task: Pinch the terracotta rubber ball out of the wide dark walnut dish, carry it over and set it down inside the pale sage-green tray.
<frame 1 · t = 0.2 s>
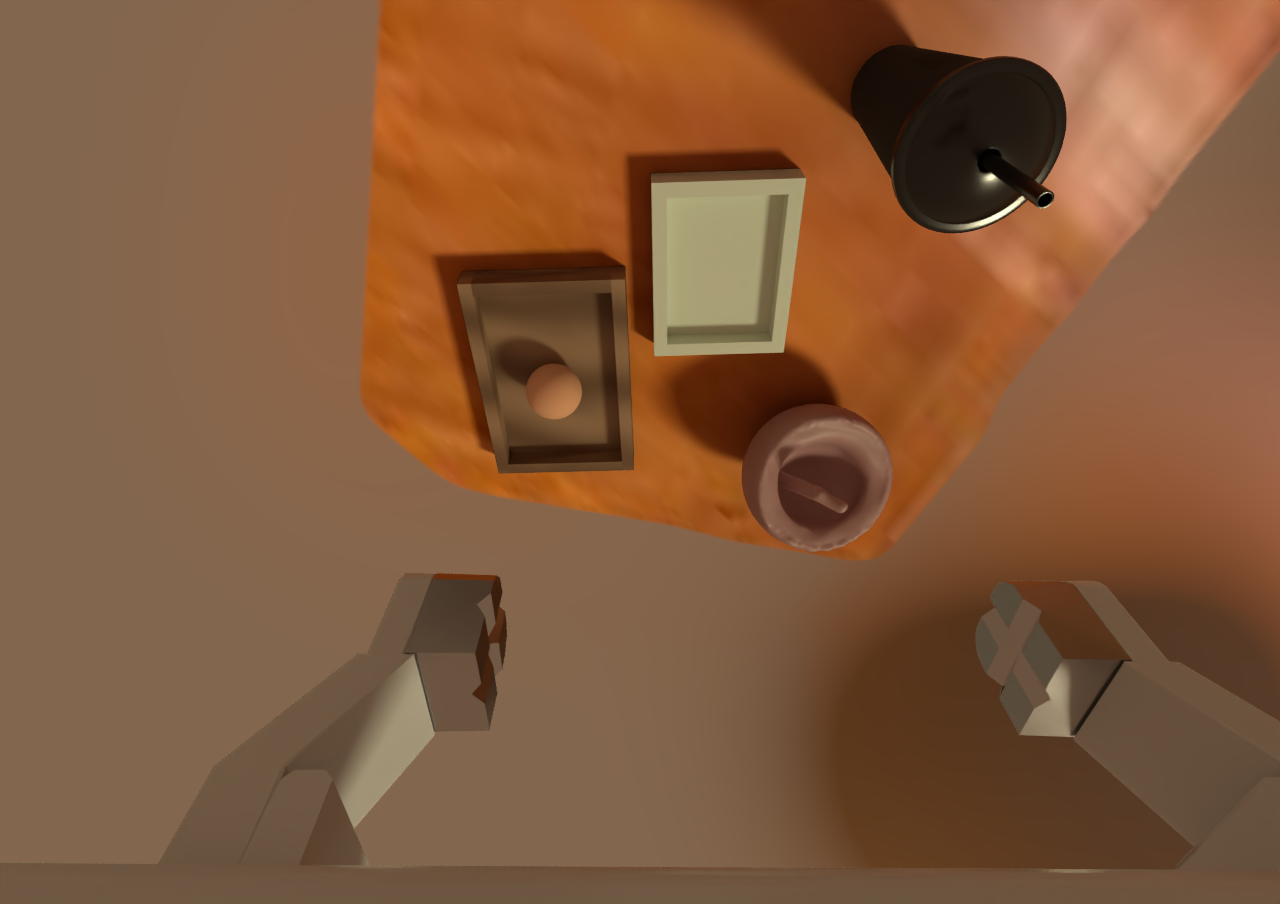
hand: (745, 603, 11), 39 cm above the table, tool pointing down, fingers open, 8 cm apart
mortar and pestle: (800, 430, 58), on the table
ball: (554, 391, 52), point 3 cm above the table, touching dish
drinking cup: (888, 89, 41), on the table
tray: (720, 263, 48), on the table
dish: (557, 372, 54), on the table
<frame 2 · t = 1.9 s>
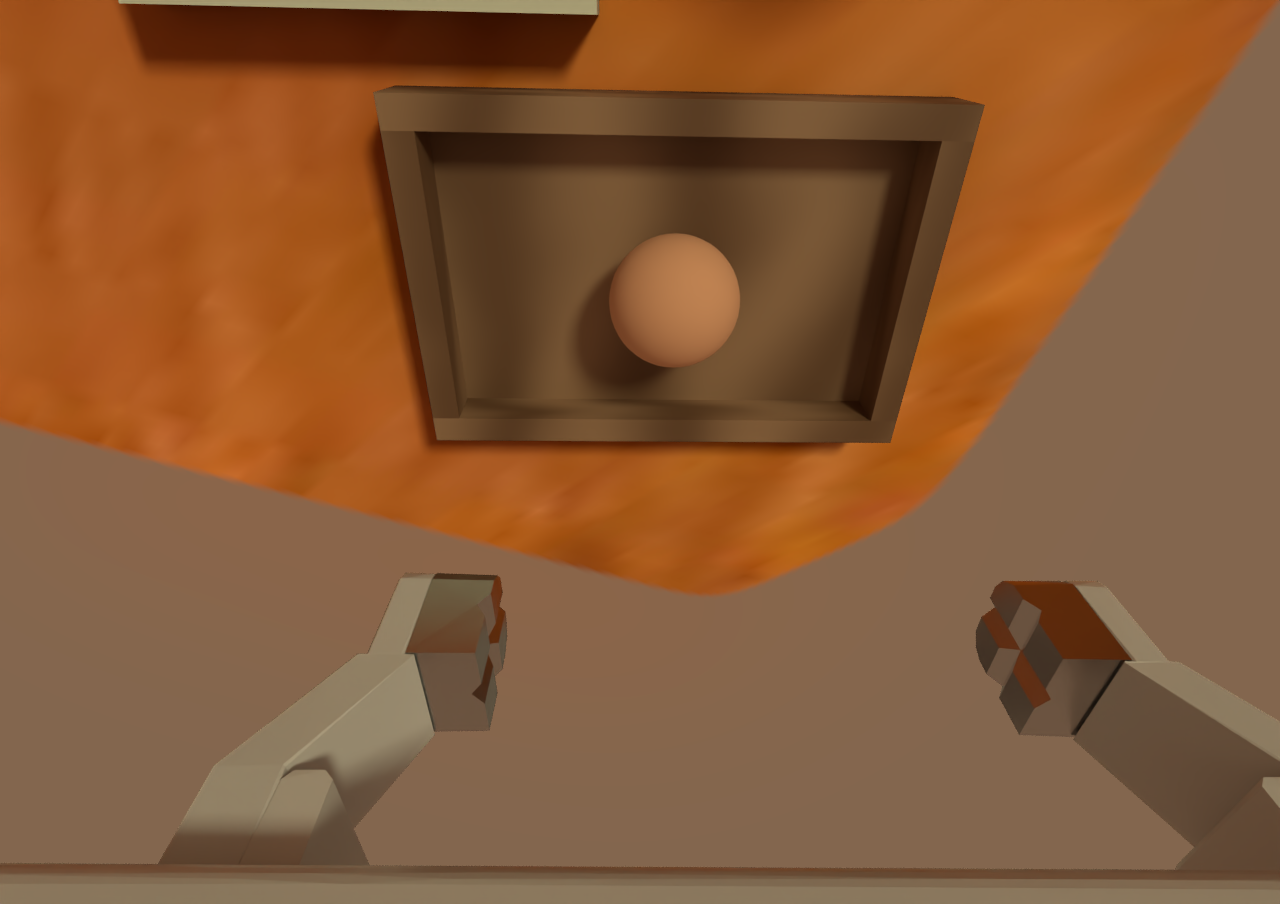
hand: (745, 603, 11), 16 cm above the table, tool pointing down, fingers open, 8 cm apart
ball: (674, 301, 22), point 3 cm above the table, touching dish
dish: (669, 274, 24), on the table
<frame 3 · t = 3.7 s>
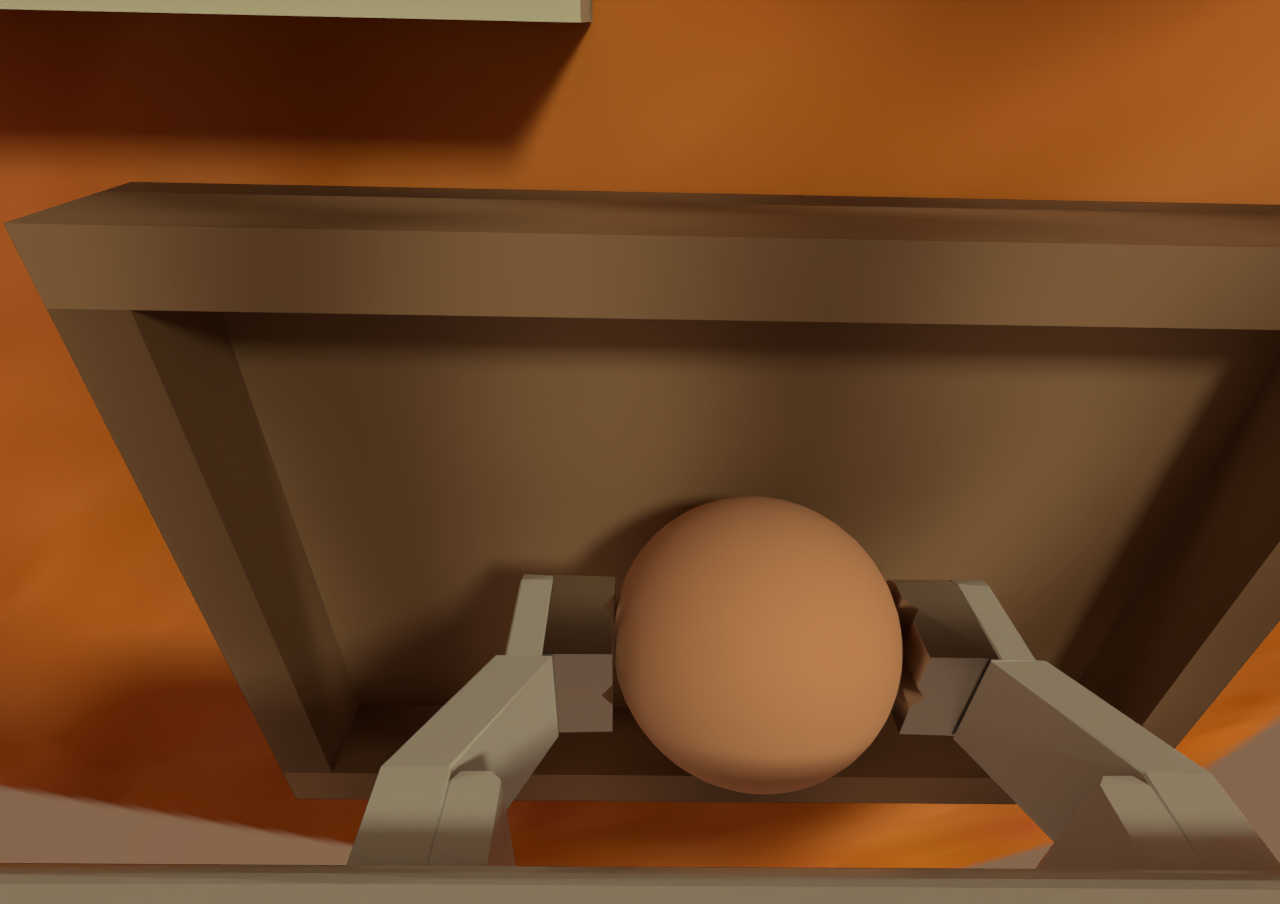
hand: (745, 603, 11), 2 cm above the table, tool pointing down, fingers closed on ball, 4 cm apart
ball: (752, 636, 10), point 3 cm above the table, touching dish, gripper
dish: (730, 521, 13), on the table
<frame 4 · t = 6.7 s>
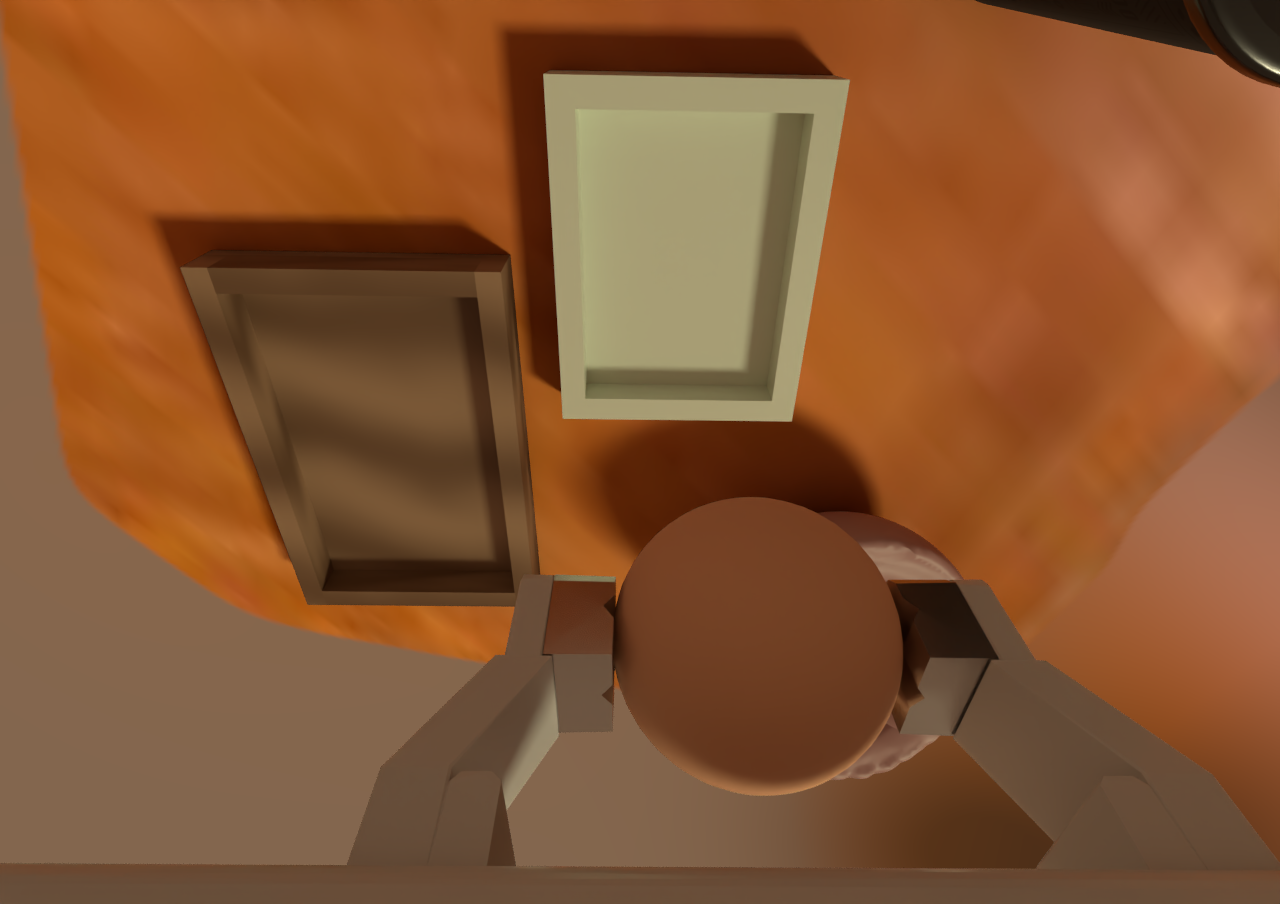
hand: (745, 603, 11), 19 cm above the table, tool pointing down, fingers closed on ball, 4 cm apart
mortar and pestle: (813, 550, 36), on the table
ball: (752, 637, 10), point 20 cm above the table, touching gripper
tray: (682, 257, 26), on the table
dish: (402, 439, 31), on the table
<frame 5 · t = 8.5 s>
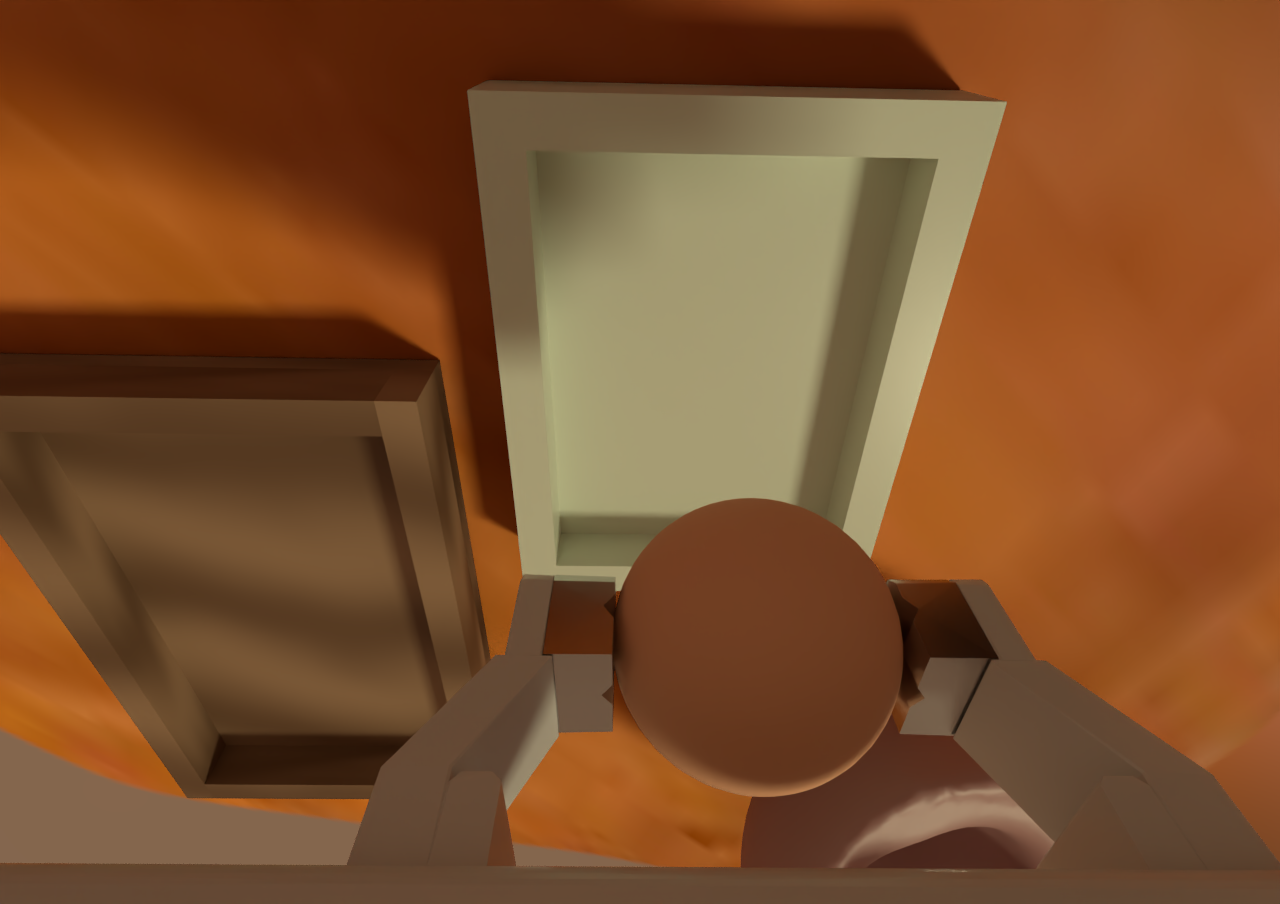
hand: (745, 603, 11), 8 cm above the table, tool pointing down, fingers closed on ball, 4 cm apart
mortar and pestle: (868, 716, 27), on the table
ball: (752, 638, 10), point 9 cm above the table, touching gripper
tray: (703, 364, 17), on the table
dish: (303, 595, 22), on the table
when the fingers open (4 cm above the table, at t = 9.7 s): ball drops 2 cm, resting on tray.
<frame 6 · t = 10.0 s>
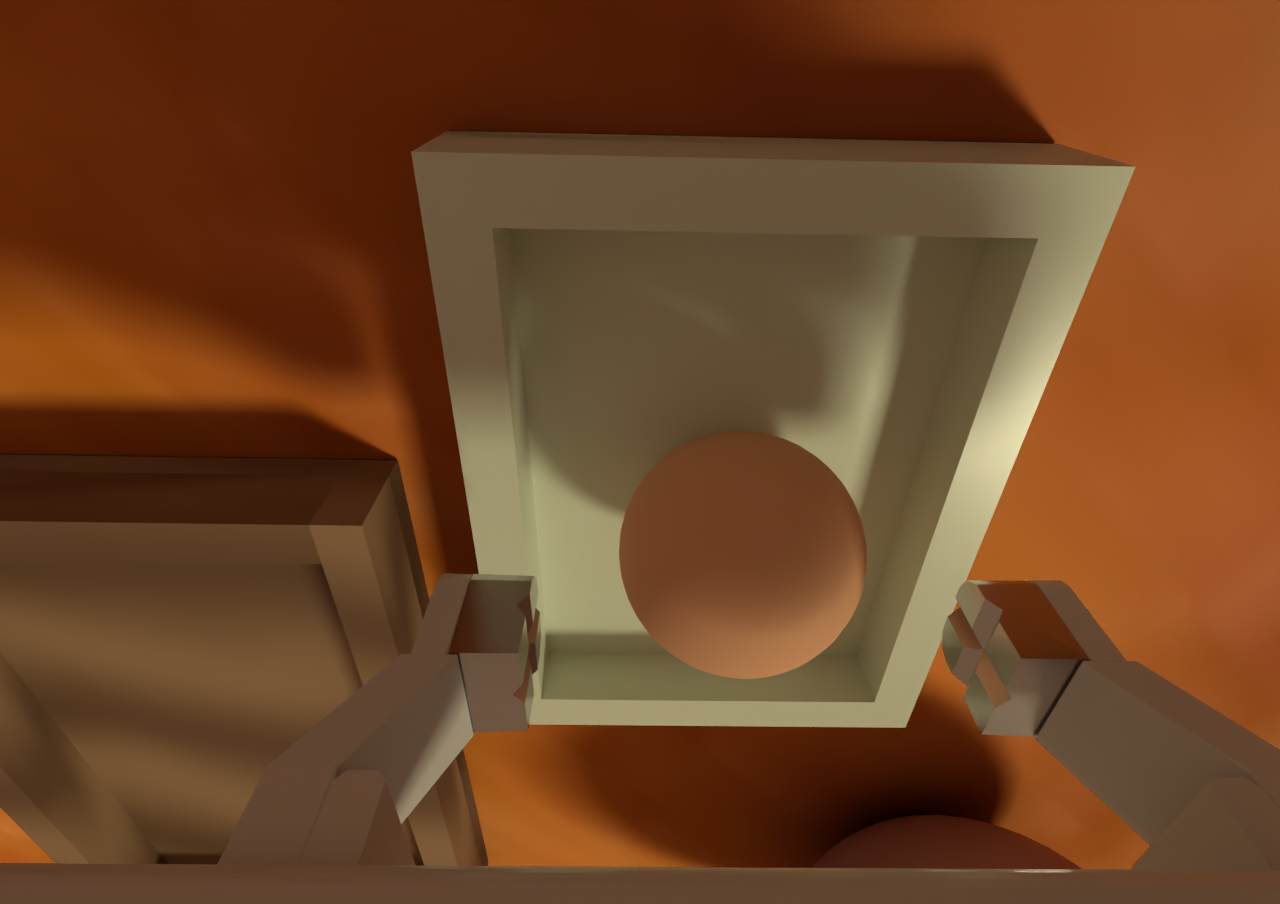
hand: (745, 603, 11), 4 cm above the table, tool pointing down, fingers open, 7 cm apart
mortar and pestle: (902, 830, 23), on the table
ball: (739, 551, 12), point 3 cm above the table, touching tray
tray: (719, 464, 14), on the table
dish: (248, 711, 19), on the table
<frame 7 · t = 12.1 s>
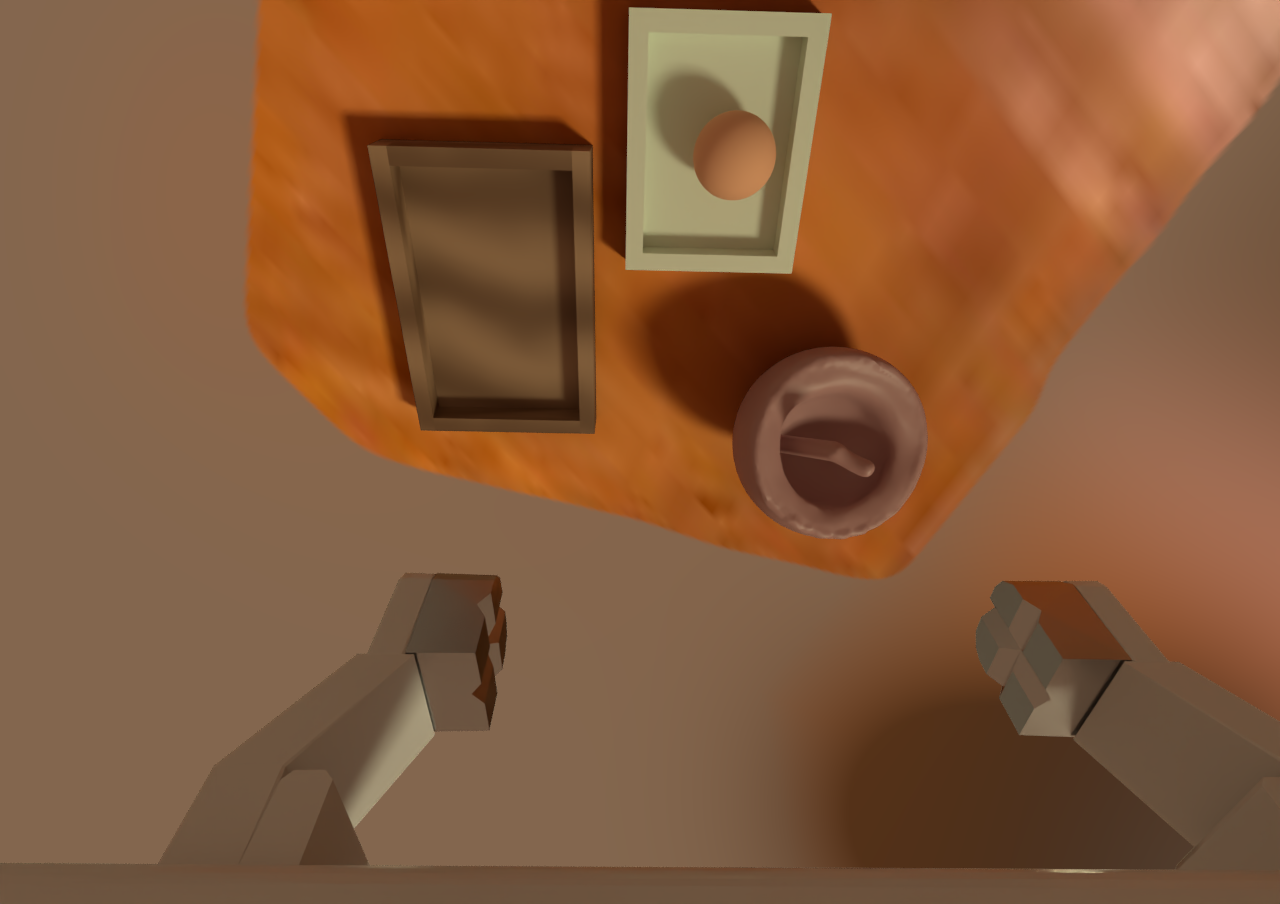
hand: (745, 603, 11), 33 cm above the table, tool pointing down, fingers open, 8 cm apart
mortar and pestle: (806, 395, 46), on the table
ball: (734, 156, 35), point 3 cm above the table, tilted 20°, touching tray
tray: (714, 148, 37), on the table
dish: (501, 295, 42), on the table
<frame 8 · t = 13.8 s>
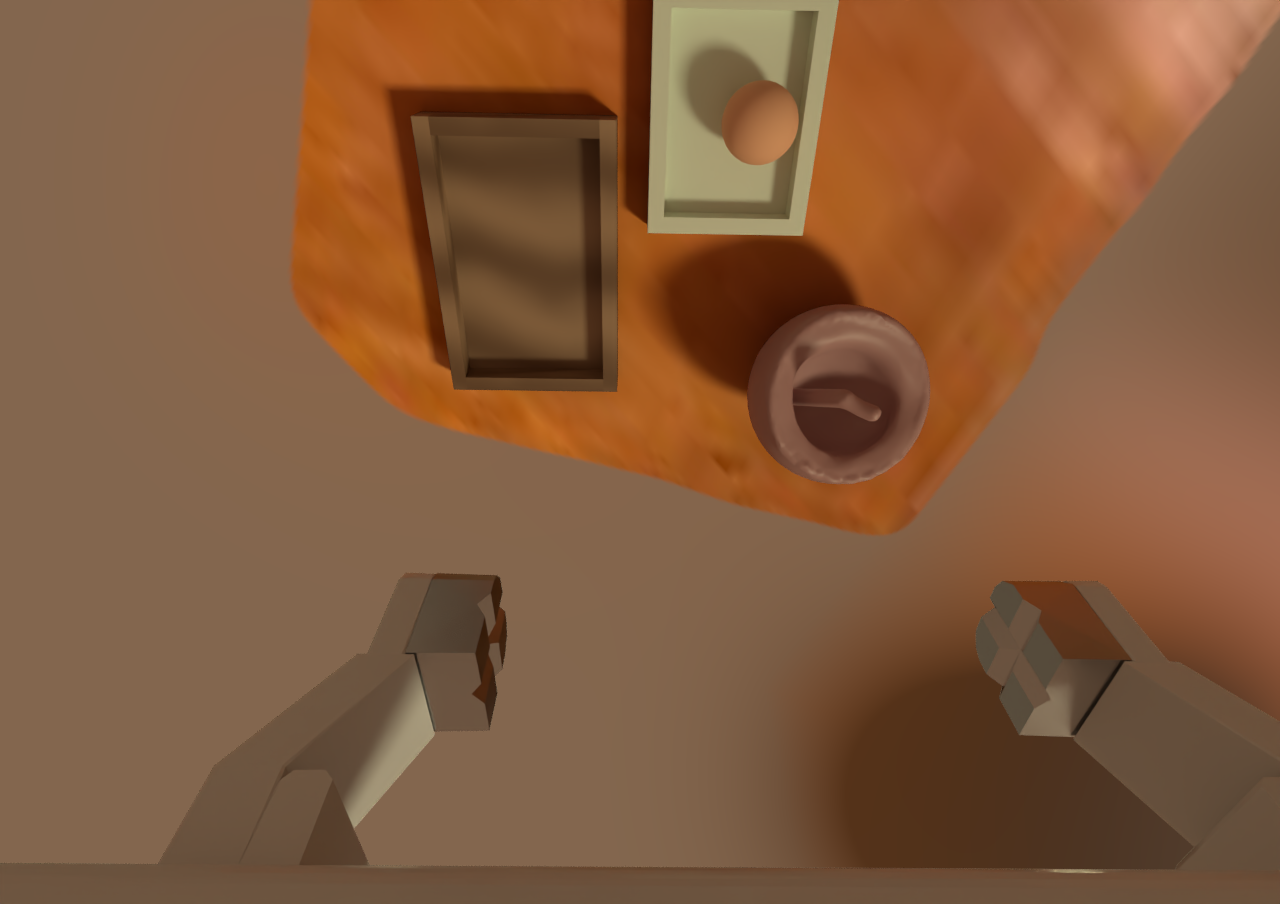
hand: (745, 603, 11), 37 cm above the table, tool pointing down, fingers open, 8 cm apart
mortar and pestle: (816, 355, 49), on the table
ball: (759, 123, 38), point 3 cm above the table, tilted 35°, touching tray
tray: (731, 117, 40), on the table
dish: (530, 259, 45), on the table
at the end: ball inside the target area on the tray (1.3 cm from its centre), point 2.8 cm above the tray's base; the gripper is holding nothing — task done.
